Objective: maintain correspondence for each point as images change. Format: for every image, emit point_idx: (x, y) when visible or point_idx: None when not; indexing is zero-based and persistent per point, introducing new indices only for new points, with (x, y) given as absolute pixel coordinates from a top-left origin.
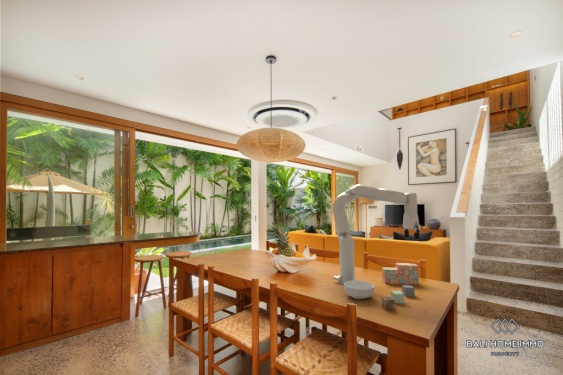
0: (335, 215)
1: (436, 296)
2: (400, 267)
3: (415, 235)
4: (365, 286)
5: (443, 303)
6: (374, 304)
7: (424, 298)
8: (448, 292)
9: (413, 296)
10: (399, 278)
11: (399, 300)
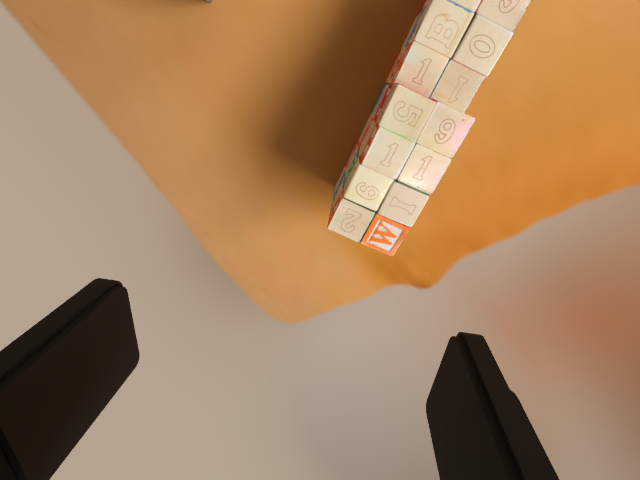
0: None
1: (151, 113)
2: (389, 95)
3: (36, 345)
4: None
5: (59, 59)
6: None
7: (129, 19)
8: (193, 215)
9: None
10: (387, 84)
11: None
